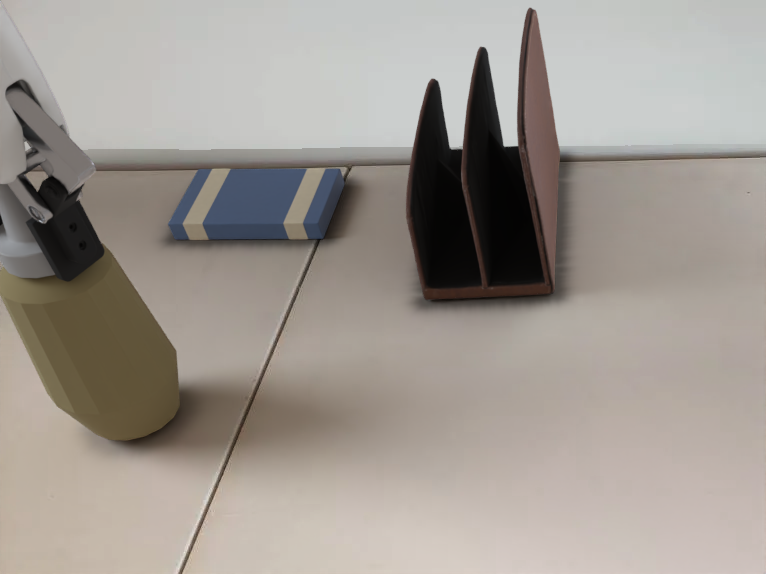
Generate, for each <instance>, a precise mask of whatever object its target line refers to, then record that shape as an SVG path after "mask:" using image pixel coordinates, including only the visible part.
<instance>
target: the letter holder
mask: <svg viewBox="0 0 766 574" xmlns="http://www.w3.org/2000/svg"><path fill="white" fill-rule="evenodd" d="M538 16H539V15H538V13H537V10H536V9H534V8H532V7H528V9H527V10H526V13H525V17H524V23H523V28H522V29H523V30H522V35H521V43H520V52H519V60H518V61H519V62H518V83H517V103H516V105H517V106H516V133H517V134H516V135H517V145H513V146H505V145H504V138H503V133H502V132H503V131H502V126H501V121H500V116H499V110H498V105H497V100H496V93H495V87H494V81H493V77H492V71H491V65H490V59H489V52H488V49H487V47H485V46H479V47H478V49H477V52H476V55H475V59H474V63H473V67H472V68H473V69H472V71H471V78H470V82H469V90H468V96H467V103H466V110H465V120H464V129H463V140H462V148H456V149H453V148H451V147H450V140H449V135H448V134H449V133H448V129H447V124H446V123H447V122H446V118H445V112H444V107H443V106H444V105H443V98H442V97H443V96H442V90H441V87H440V83H439V80H437V79H436V78H430V79H429V81H428V83H427V86H426V88H425V91H424V95H423V98H422V104H421V106H420V107H421V108H420V111H419V116H418V120H417V121H418V122H417V126H416V131H415V134H414V140H413V146H412V151H411V157H410V163H409V168H408V169H409V170H408V174H407V175H408V177H407V183H406V192H405V193H406V194H405V195H406V196H405V219H406V224H407V229H408V233H409V236H410V243H411V247H412V251H413V256H414V261H415V266H416V269H417V274H418V279H419V283H420V288H421V291H422V297H423V299H424V300H425V301H433V300H435V301H437V300H457V299H478V298H479V299H481V298H500V297H520V296H537V295H539V296H541V295H552V294H554V292H555V290H556V289H555V288H556V253H557V252H556V250H557V229H558V228H557V227H558V203H559V202H558V200H559V176H560V175H559V173H560V162H561V150H560V145H559V140H558V139H559V138H558V134H557V129H556V128H557V127H556V120H555V114H554V106H553V99H552V95H551V89H550V83H549V76H548V70H547V62H546V58H545V52H544V46H543V40H542V35H541V29H540V23H539V17H538Z"/></svg>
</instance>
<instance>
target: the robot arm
mask: <svg viewBox="0 0 766 574" xmlns="http://www.w3.org/2000/svg"><path fill="white" fill-rule="evenodd" d="M25 143H27V145H28V146H29V147H30V148H28V149H26V144H25ZM39 166H40V167H41V169H42V171H43V172H44V173H45V175H46V176H47V177H46V178H45V179H43V180H42V181H41V184H40V186H39V189H38V190H37V189H36V187H35V186H34V185H33V183H32V182H31V181H30V179H29V178H28V176H27V174H28V173H30V172H32V171H33V170H35V169H36V168H38V167H39ZM96 172H97V166H96V164H95V162H94V161H93V160H92V159H91V158H90V157H89V156H88V155H87V154H86V153H85V151H83V150H82V149H81V148H80V147H79V146H78V145H77V143H76V142H75V141H74V140H73V139H72V138H71V135H70V130H69V126H68V124H67V121H66V118H65V116H64V114H63V112H62V109H61V107H60V105H59V102H58V100H57V98H56V96H55V93H54V92H53V89H52V88H51V86H50V83H49V82H48V80H47V78H46V77H45V75H44V72H43V70H42V68H41V66H40V65H39V63H38V61H37V60H36V58H35V56H34V54H33V52H32V51H31V49H30V47H29V45H28V44H27V42H26V40H25V39H24V37H23V35H22V33H21V32H20V29H19V28H18V26H17V25H16V23H15V21H14V20H13V18H12V16H11V14H10V13H9V12H8V10H7V8H6V7H5V5H4V3H3V2H2V0H0V184H7V185H8V186H9V187H10V189H11V190H12V191H13V193H14V194H15V195H16V197H17V198H18V199H19V201H20V202H21V203H22V205H23V206H24V207H25V209H26V210H27V211H28V213H29V214H30V215H31V217H32V218H31V219H29V220H28V221H26V224H27V226H28V228H29V229H30V231H31V233H32V235H33V236H34V238H35V240H36V242H37V243H38V245H39V247H40V249H41V250H42V252H43V254H44V256H45V257H46V259H47V261H48V263H49V264H50V266H51V268H52V270H53V272H54V273H55V275H56V277H57V278H58V279H60V280H64V281H67V282H69V281H71V280H73V279H74V278H75V277H77V276H78V275H79V274H81V273H82V272H83V271H85V270H86V269H87V268H88V267H90V266H91V265H92V264H94V263H95V262H96V261H98V260H99V259H100V258H101V257H102V256H103V255H104V252H105V250H104V247H103V245H102V242H101V240H100V237H99V236H98V233H97V232H96V230H95V228H94V226H93V223H92V222H91V220H90V218H89V217H88V214H87V213H86V210H85V208H84V207H83V204H82V203H81V201H80V200H81V199H82V198H83V197H84V193H83V190H82V189H84V186H85V183H87V181H89V179H90V178H91V177H92V176H93V175H94V174H95V173H96ZM2 224H3V221H2V218H1V214H0V225H2Z"/></svg>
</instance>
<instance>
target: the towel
mask: <svg viewBox="0 0 766 574" xmlns="http://www.w3.org/2000/svg"><path fill="white" fill-rule="evenodd" d="M345 184H346V183H345V179H344V176H343V173H342V170H341V168H340V167H339V168H335V167H334V168H326V167H308V168H198V169H197V171H196V173H195V174H194V176H193V178H192V179H191V182H190V183H189V185H188V186H187V188H186V190H185V192H184V194H183V195H182V198H181V199H180V201H179V203H178V205H177V207H176V208H175V210H174V212H173V213H172V215H171V217H170V220H169V221H168V223H167V225H168V227H169V231H170V232H171V234H172V237H173V238H174V240H181V241H182V240H189V241H209V240H323V239H324V238H325V236H326V234H327V231H328V227H329V225H330V222H331V219H332V218H333V215H334V212H335V210H336V208H337V205H338V203H339V200H340V197H341V194H342V192H343V190H344V187H345Z"/></svg>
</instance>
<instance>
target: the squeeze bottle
mask: <svg viewBox="0 0 766 574" xmlns="http://www.w3.org/2000/svg"><path fill="white" fill-rule="evenodd" d="M0 214H1V218H2V221H3V224H2V225H0V263H1V265H2V267H1V269H0V298H1V301H2V302H3V304H4V307H5V308H6V311H7V313H8V315H9V318H10V319H11V321H12V323H13V325H14V328H15V330H16V332H17V333H18V336H19V338H20V340H21V343H22V344H23V347H24V348H25V350H26V352H27V355H28V357H29V358H30V360H31V362H32V365H33V367H34V368H35V371H36V374H37V375H38V377H39V379H40V382H41V383H42V385H43V387H44V390H45V392H46V394H47V395H48V397H49V398H50V399H51V400H52V402H53V403H54V404H55V406H56V407H57V408H59V409H60V410H61V411H63V412H64V413H65V414H67V415H68V416H70V417H71V418H72V419H74V420H75V421H76V422H78V423H79V424H80V425H82V426H83V427H85V428H86V429H88V430H89V431H91V432H92V433H93V434H95V435H96V436H98V437H101V438H104V439H106V440H108V441H131V440H135V439H139V438H143V437H144V438H145V437H147V436H149V435H150V434H152V433H155V432H157V431H158V430H161V429H162V428H164V427H165V426H166V425H167V424H168V423H170V422H171V421H172V420H173V419H174V418H175V416H176V414H177V412H178V410H179V409H180V406H181V399H180V384H179V369H178V355H177V349H176V348H175V346H174V345H173V343H172V342H171V340H170V339H169V337H168V336H167V334H166V333H165V331H164V330H163V328H162V327H161V325H160V324H159V322H158V321H157V319H156V318H155V315H153V313H152V311H151V310H150V308H149V307H148V305H147V304H146V303H145V300H144V299H143V298H142V296H141V295H140V293H139V292H138V290H137V289H136V287H135V286H134V284H133V283H132V281H131V280H130V278H129V277H128V275H127V274H126V271H125V270H124V269H123V267H122V266H121V264H120V263H119V262H118V260H117V258H116V257H115V256H114V254H113V252H111V250H110V249H109V248H108V247H107V246H106V245H105V244H104V243H102V242H101V243H102V245H103V247H104V250H105V252H104V255H103V256H102V257H101V258H100V259H99V260H98V261H96V262H95V263H94V264H92V265H91V266H90V267H88V268H87V269H86V270H85V271H83V272H82V273H81V274H79V275H78V276H77V277H75V278H74V279H73V280H71V281H69V282H67V281H64V280H60V279H58V278H57V277H56V275H55V273H54V272H53V270H52V268H51V266H50V264H49V263H48V261H47V259H46V257H45V256H44V254H43V252H42V250H41V249H40V247H39V245H38V243H37V242H36V240H35V238H34V236H33V235H32V233H31V231H30V229H29V228H28V226H27V224H26V221H28V220H29V219H31V218H32V217H31V215H30V214H29V213H28V211H27V210H26V209H25V207H24V206H23V205H22V203H21V202H20V201H19V199H18V198H17V197H16V195H15V194H14V193H13V191H12V190H11V189H10V187H9V186H8V185H7V184H0Z"/></svg>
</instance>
